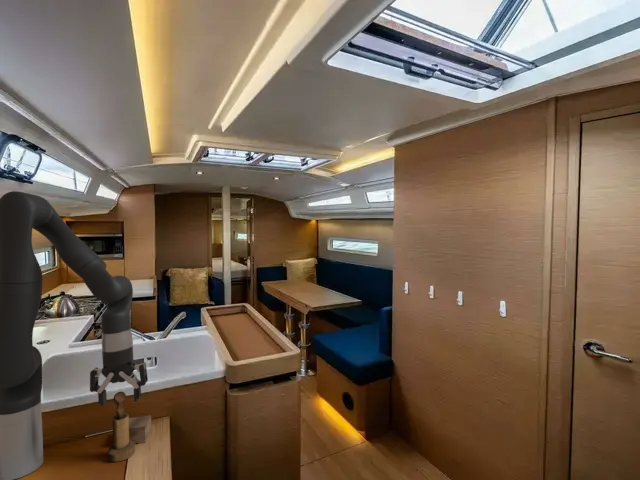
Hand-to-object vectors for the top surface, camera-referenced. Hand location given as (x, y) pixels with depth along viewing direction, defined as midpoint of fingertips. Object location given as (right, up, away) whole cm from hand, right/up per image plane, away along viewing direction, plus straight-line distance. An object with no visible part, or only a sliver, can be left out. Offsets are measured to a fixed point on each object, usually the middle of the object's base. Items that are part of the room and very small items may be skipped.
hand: (120, 402), depth 96 cm
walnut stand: (0, -15, +8) cm, 17 cm away
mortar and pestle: (0, -15, 0) cm, 15 cm away
